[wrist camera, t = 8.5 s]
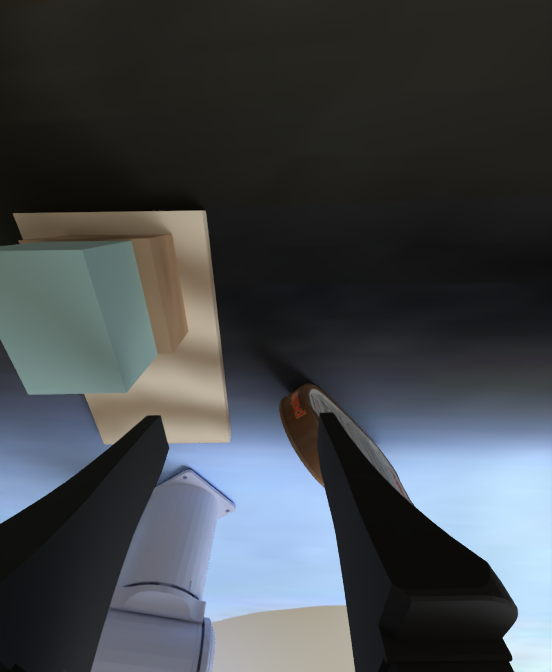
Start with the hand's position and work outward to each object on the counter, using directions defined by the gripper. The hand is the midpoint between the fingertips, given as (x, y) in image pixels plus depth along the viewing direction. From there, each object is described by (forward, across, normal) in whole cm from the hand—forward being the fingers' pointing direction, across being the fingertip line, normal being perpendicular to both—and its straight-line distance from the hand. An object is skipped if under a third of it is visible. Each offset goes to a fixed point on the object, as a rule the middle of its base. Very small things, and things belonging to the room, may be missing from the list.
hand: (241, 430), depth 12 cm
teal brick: (+6, +8, -4) cm, 11 cm away
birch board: (+10, +9, +1) cm, 14 cm away
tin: (+11, -8, +9) cm, 16 cm away
